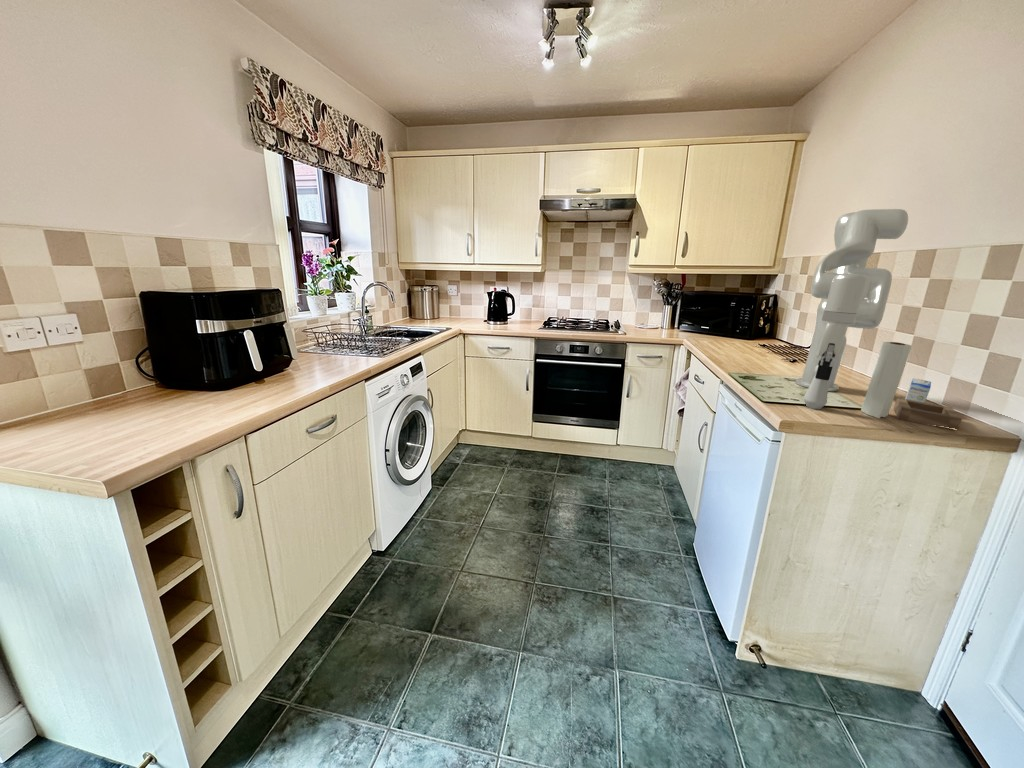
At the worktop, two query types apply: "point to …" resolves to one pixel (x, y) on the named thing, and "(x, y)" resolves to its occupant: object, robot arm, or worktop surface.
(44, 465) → the worktop surface
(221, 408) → the worktop surface
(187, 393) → the worktop surface
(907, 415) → the holder
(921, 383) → the medicine box
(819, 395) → the salt shaker
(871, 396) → the paper towel roll
